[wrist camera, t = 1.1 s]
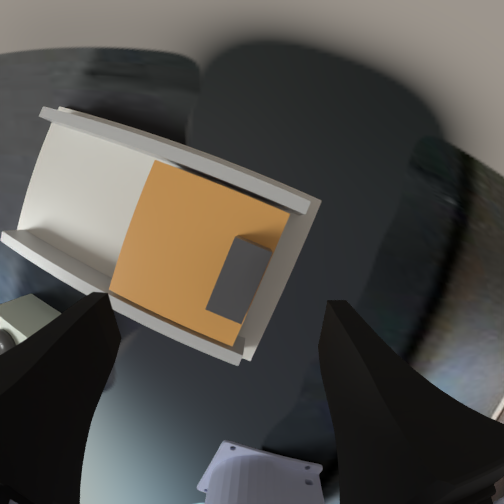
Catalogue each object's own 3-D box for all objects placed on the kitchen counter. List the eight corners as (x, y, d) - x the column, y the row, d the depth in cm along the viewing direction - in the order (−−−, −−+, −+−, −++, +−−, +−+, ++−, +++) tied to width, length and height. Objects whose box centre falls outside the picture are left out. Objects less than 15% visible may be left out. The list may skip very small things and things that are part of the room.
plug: (67, 316, 22) (23, 340, 16) (60, 357, 22) (21, 386, 16) (31, 293, 22) (-14, 309, 16) (26, 334, 22) (-15, 355, 16)
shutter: (289, 214, 18) (294, 212, 15) (233, 342, 18) (229, 360, 16) (158, 161, 18) (142, 152, 15) (112, 287, 18) (93, 296, 16)
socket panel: (320, 201, 20) (331, 197, 17) (250, 357, 22) (248, 380, 18) (63, 108, 20) (39, 95, 17) (18, 241, 21) (-8, 244, 18)
